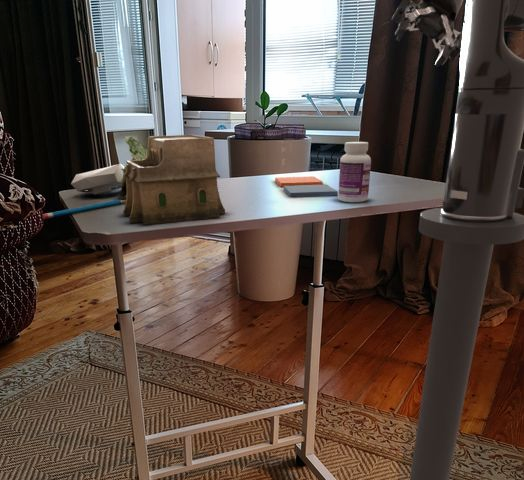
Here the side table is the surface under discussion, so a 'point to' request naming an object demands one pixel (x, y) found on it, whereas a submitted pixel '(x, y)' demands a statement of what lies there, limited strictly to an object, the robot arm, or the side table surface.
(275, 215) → the side table surface
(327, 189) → the slate pad
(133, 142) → the terrain
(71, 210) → the pencil
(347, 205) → the side table surface
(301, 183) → the terracotta pad
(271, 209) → the side table surface
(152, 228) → the side table surface
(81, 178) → the turret
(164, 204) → the miniature house
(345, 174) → the pill bottle
